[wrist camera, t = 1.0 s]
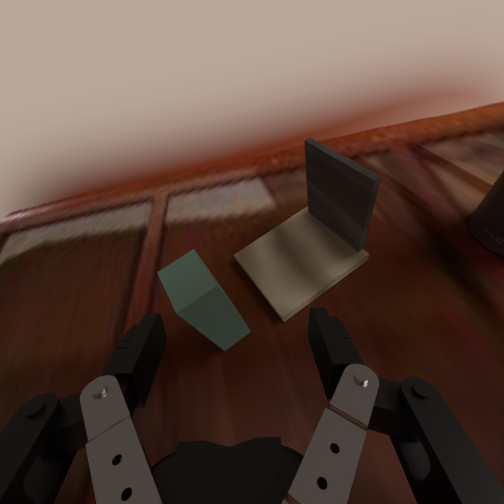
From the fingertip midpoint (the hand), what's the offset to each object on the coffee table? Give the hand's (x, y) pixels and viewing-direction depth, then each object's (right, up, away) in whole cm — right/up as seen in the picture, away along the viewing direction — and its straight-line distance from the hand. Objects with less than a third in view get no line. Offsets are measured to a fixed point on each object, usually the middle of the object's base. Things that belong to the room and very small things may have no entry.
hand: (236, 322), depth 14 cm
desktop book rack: (+7, +3, +22) cm, 24 cm away
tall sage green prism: (-2, -6, +19) cm, 20 cm away
